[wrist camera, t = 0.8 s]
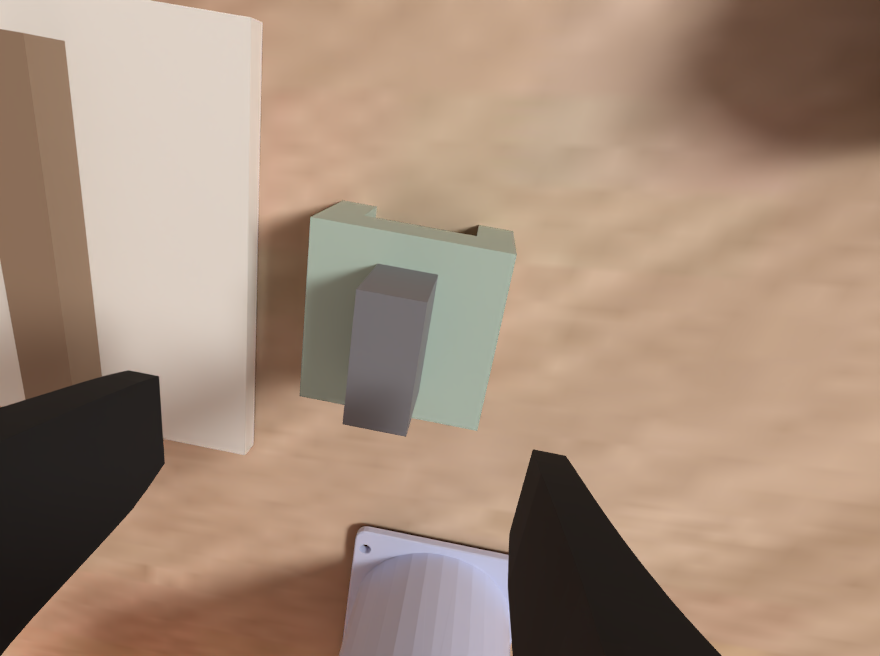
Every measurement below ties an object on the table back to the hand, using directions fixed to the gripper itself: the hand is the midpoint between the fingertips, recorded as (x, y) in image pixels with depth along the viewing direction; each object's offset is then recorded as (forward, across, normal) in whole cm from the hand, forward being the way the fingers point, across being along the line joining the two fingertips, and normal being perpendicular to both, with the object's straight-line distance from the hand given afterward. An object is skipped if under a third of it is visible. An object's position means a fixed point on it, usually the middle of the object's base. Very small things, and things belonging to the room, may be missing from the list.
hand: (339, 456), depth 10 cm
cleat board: (+10, +13, 0) cm, 16 cm away
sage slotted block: (+10, 0, 0) cm, 10 cm away
